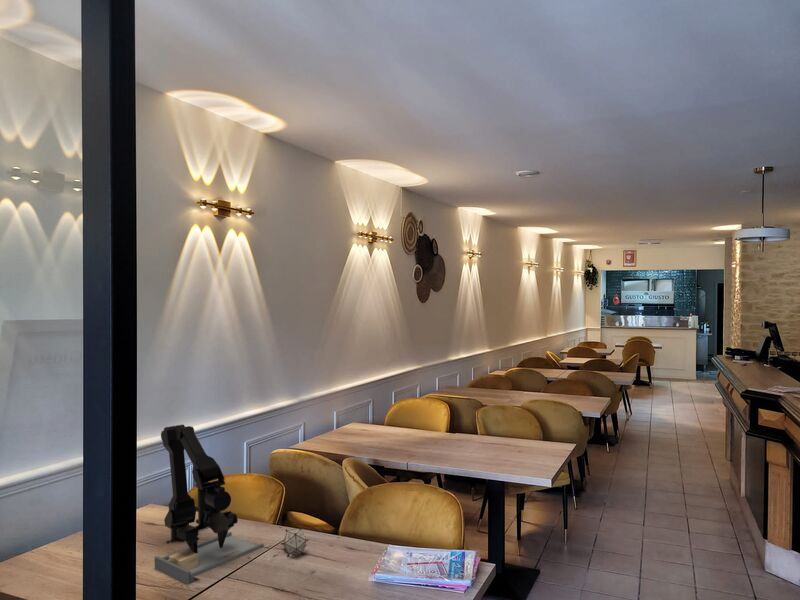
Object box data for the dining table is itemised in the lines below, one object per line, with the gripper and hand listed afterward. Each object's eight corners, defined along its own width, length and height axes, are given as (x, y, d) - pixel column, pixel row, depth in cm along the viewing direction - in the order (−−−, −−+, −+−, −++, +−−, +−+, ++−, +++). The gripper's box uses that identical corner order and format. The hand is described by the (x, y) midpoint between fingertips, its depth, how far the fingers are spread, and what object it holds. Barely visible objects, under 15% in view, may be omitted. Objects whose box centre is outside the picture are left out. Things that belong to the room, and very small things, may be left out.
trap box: (154, 568, 182) (154, 557, 182) (230, 539, 203) (229, 528, 203) (187, 584, 171) (187, 572, 171) (263, 551, 192) (263, 540, 192)
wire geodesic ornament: (298, 567, 188) (301, 550, 182) (274, 556, 190) (276, 538, 184) (311, 544, 195) (314, 527, 190) (288, 534, 197) (290, 516, 191)
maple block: (169, 567, 179) (168, 556, 179) (187, 560, 183) (186, 549, 183) (180, 573, 175) (180, 561, 175) (198, 565, 180) (197, 553, 180)
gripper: (195, 517, 174) (197, 570, 174) (247, 499, 189) (248, 548, 189) (175, 509, 181) (176, 560, 181) (226, 493, 196) (227, 540, 196)
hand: (208, 552), depth 186 cm, fingers open, 9 cm apart
